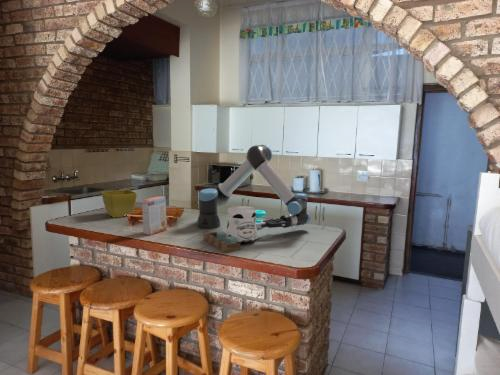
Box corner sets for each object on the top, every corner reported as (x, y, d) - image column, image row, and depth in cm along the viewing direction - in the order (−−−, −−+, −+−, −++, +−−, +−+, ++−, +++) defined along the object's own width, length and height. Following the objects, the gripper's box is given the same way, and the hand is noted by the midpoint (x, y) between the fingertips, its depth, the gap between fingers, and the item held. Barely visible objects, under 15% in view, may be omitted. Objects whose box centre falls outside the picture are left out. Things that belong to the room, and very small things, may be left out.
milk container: (247, 247, 187) (247, 214, 184) (219, 242, 195) (220, 210, 192) (262, 239, 202) (263, 208, 199) (236, 234, 210) (236, 204, 207)
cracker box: (159, 228, 220) (158, 195, 217) (167, 230, 217) (166, 196, 214) (142, 234, 209) (141, 199, 205) (149, 235, 205) (148, 200, 202)
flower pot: (128, 211, 267) (127, 189, 264) (138, 216, 252) (137, 192, 250) (102, 214, 255) (100, 191, 252) (111, 219, 240) (109, 195, 238)
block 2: (224, 246, 189) (224, 237, 188) (230, 244, 192) (230, 236, 191) (231, 247, 186) (231, 239, 185) (236, 245, 189) (236, 237, 189)
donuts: (252, 213, 221) (248, 209, 231) (252, 228, 223) (248, 224, 232) (268, 212, 224) (263, 209, 233) (267, 227, 225) (263, 224, 235)
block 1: (216, 239, 199) (216, 232, 198) (224, 239, 200) (224, 231, 200) (218, 242, 195) (218, 234, 194) (226, 241, 196) (226, 233, 195)
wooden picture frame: (203, 239, 199) (203, 232, 198) (218, 237, 204) (218, 229, 203) (224, 252, 179) (224, 243, 178) (240, 249, 184) (240, 241, 183)
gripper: (294, 229, 209) (262, 235, 196) (281, 224, 220) (249, 229, 207) (295, 217, 208) (262, 222, 195) (281, 212, 219) (249, 217, 206)
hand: (255, 226), depth 201 cm, fingers closed
